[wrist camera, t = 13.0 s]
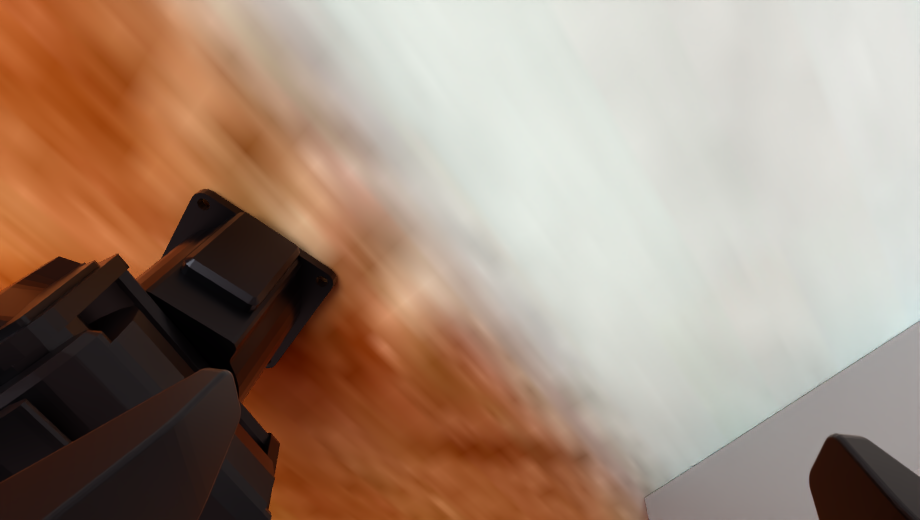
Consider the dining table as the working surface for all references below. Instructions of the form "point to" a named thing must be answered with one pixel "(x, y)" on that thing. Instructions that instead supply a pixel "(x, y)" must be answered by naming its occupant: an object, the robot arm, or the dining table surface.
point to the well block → (804, 442)
